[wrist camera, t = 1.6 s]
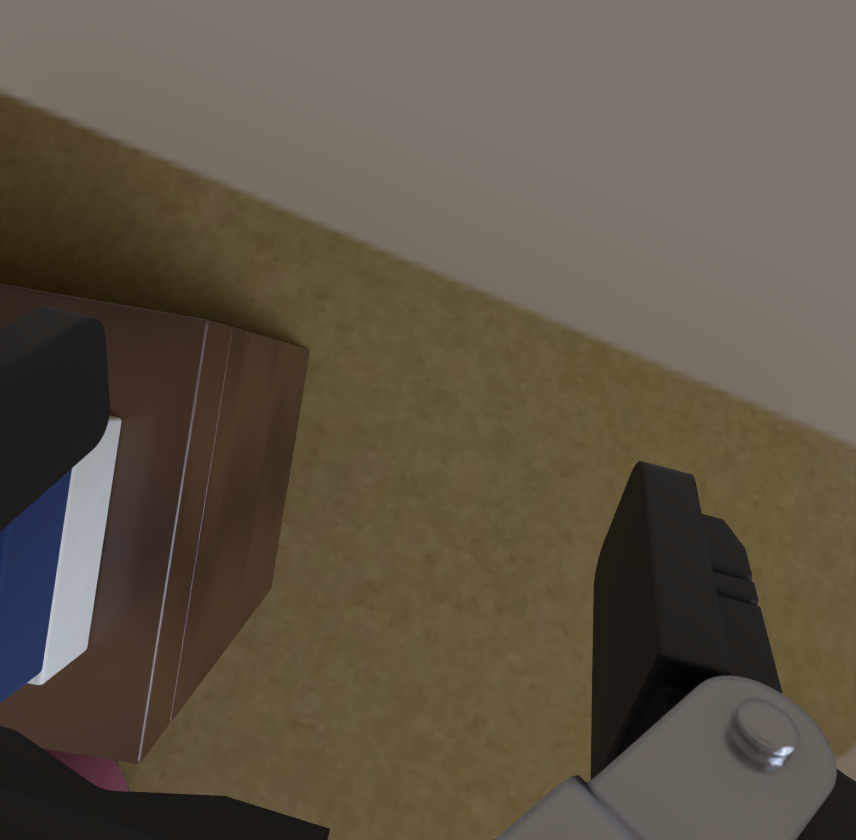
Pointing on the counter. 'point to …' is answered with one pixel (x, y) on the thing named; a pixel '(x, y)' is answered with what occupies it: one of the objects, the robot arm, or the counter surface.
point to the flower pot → (94, 769)
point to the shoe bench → (170, 520)
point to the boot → (54, 570)
